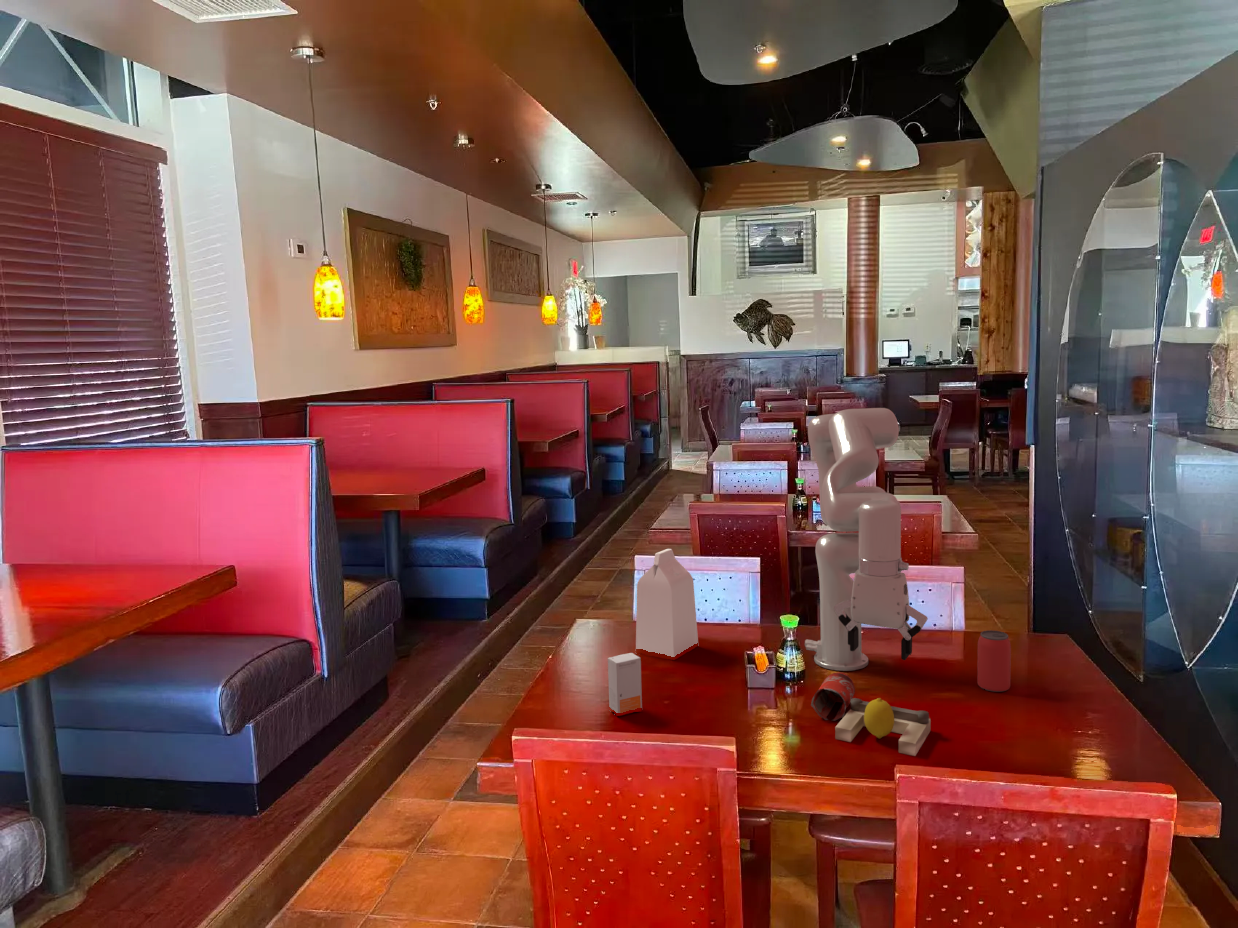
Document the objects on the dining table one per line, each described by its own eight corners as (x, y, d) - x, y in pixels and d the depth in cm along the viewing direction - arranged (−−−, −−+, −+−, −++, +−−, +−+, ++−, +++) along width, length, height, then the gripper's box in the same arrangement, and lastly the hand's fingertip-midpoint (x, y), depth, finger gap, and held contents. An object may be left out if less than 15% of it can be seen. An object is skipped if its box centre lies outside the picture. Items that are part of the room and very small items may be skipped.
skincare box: (618, 718, 175) (615, 663, 173) (609, 711, 178) (606, 657, 177) (643, 711, 177) (641, 657, 176) (633, 704, 181) (631, 651, 180)
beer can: (1013, 693, 178) (1014, 639, 177) (980, 692, 180) (981, 638, 178) (1005, 681, 185) (1006, 629, 183) (974, 680, 186) (974, 629, 185)
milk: (661, 639, 223) (657, 544, 220) (698, 646, 216) (695, 548, 213) (635, 653, 213) (631, 553, 210) (673, 661, 206) (670, 558, 203)
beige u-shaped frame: (834, 738, 161) (834, 718, 161) (854, 715, 171) (853, 695, 171) (915, 756, 153) (915, 734, 152) (931, 730, 163) (931, 710, 162)
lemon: (887, 731, 163) (887, 691, 163) (899, 743, 158) (898, 702, 157) (860, 733, 163) (859, 693, 162) (870, 745, 158) (870, 705, 157)
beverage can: (858, 701, 178) (857, 671, 177) (846, 723, 168) (845, 692, 167) (824, 696, 182) (824, 667, 181) (810, 718, 171) (810, 687, 170)
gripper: (932, 566, 155) (931, 654, 157) (840, 556, 164) (841, 639, 167) (922, 576, 148) (921, 668, 151) (827, 566, 158) (828, 652, 160)
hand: (879, 653), depth 159 cm, fingers open, 9 cm apart
